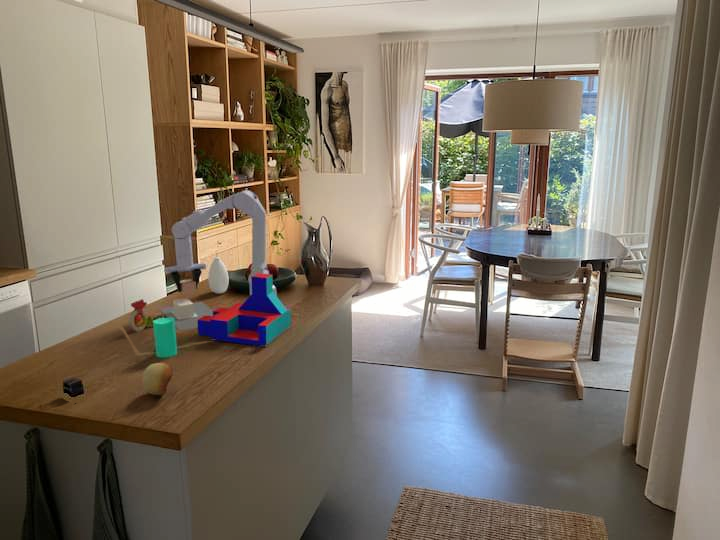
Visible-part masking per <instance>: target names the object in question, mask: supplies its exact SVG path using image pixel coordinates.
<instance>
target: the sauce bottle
mask: <svg viewBox="0 0 720 540" xmlns="http://www.w3.org/2000/svg"><path fill="white" fill-rule="evenodd" d="M207 276H208V278H207V279H208V285H209V287H210V290H211V291H212V292H213V293H215V294H224V293H225V292H227V289H228V287H229V282H230V281H229V279H230V278H229V272H228V270H227V267H226V265H225V263H224V262H223V260H221V257H219V256H218V251H216V252H215V257H214V258H213V260H212V262H211V264H210V266H209V269H208V275H207Z"/></svg>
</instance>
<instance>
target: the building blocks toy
mask: <svg viewBox="0 0 720 540" xmlns="http://www.w3.org/2000/svg"><path fill="white" fill-rule="evenodd" d="M273 278H274V277H273V274H270V273H269V274H261V273H257V274H255V275H254V276H252V294H251V295H250V294H249V297H248V298H247V299H245V301H244V302H237V303H236V304H234V305H231V306H230V307H223V306H222V307H221V306H220V307H217V308H216V309H213V316H206V315H205V316H203V317H202V318H200V319H198V320H197V322H198V328H197V335H201V336H205V337H207V336H208V337H210V340H215V341H222V342H229V343H236V344H243V345H251V344H252V345H251V346H258V345H267V344H268V343H269V342H270V341H271V340H273V339H274V338H275V337H276V336H277V335H279V334H280V333H281V332H282V331H283V330H285V329H286V328H287V327H288V326H290V327H291V308H290V307H286V306H285V305H284V304H283V303H282V301H281V300H280V298H279V297H278V295H277V296H276V295H275V294H274V292H273V285H274V282H273V280H274V279H273Z"/></svg>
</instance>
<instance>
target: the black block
mask: <svg viewBox="0 0 720 540" xmlns="http://www.w3.org/2000/svg"><path fill="white" fill-rule="evenodd" d="M62 392H63V393H67V394H69V396H71V397H76V396H78V395H81V394H84V392H85V389H84V384H83V381H82V379H81V378H80V379H79V378H77V377H75V376H72V377H71V378H70V377H69V378H67V379H66V380H65V379H64V380H62Z"/></svg>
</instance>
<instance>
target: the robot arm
mask: <svg viewBox="0 0 720 540" xmlns="http://www.w3.org/2000/svg"><path fill="white" fill-rule="evenodd" d="M228 209H230V210H235V209H237V210H239V211H241V212H243V213H246V215H248V216H249V218H250V219H252V223H251V224H252V225H251V226H252V229H251V231H252V232H251V233H252V237H251V238H252V241H251V242H252V243H251V244H252V245H251V250H252V251H251V256H252V257H251V259H252V260H251V268H250V273H249V275H248V279H247V281H248V284H249V296H250V295H251V294H252V276H254V275H255V274H257V273H261V274H270V271H269V269H268V263H267V260H266V259H267V257H266V254H267V212H266V209H265V207H264V206H263V205H262V203H261V202H260V200H259V197H258V195H256V194H255V193H254V192H252V191H251V190H248V189H244V190H242V191H241V192H240V191H239V192H237V193H235V194H232V195H229V196H227V197H225V198H223V199H222V200H219V201H218V202H217V203H215V204H213V205H212V206H211V207H209V208H208V209H206V210H203V209H195V210H193V211H192V213H191V214H190V215H188V216H186V217H185V216H184V217H181V220H180V221H177V222H175V223H174V224H173V225H172V228H171V234H172V235H173V236H174V246H175V247H174V249H175V257H176V258H175V259H176V265H173V266H169V267H164V268H163V271H164V274H165V275H169V274H170V276H171V278H172V279H173V281H174V283H175V286H176V289H177V292H178V293H179V292H181V287H180V281H181V275H180V273H183V272H188V271H189V272H190V271H191V275H192V280H193V281H195V282H196V291H197V290H198V286H199V285H198V284H199V281H200V278H201V275H202V271H203V270H206V269H207V264H206V263H205V262H203V263H194V256H193V244H192V236H191V235H192V233H195V232H196V231H198V230H199V229H202V228H203V227H205V226H207V225H208V224H209V222H210V219H211V218H212V217H214V216H216V215H218V214H219V213H222V212H223V211H225V210H228ZM273 292H274V294H275V295H276V296H277V297H278V292H277V288H276V286H275V285H274V284H273Z"/></svg>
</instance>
